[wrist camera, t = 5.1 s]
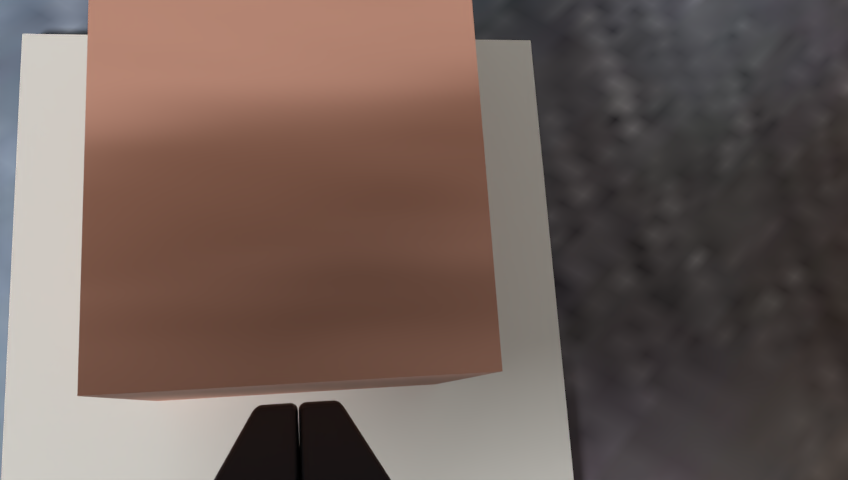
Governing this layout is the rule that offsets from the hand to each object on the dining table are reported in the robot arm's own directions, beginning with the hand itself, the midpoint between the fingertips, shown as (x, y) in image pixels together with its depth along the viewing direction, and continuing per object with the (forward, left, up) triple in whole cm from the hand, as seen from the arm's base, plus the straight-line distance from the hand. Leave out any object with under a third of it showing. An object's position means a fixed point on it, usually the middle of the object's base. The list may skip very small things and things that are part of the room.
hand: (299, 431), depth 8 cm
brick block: (0, 0, -4) cm, 4 cm away
